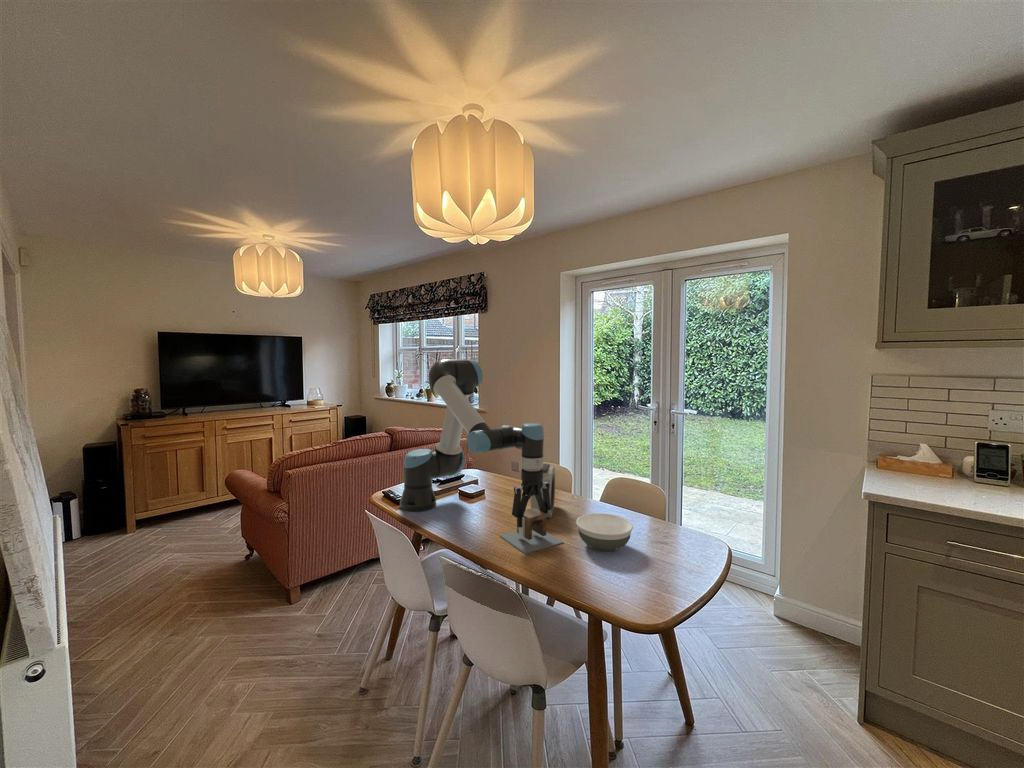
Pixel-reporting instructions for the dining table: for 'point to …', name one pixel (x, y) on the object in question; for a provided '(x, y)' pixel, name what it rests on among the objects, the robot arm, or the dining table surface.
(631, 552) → the dining table surface
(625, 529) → the bowl
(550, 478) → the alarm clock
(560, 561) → the dining table surface
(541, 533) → the notched open box
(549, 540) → the mat
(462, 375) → the robot arm
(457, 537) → the dining table surface
